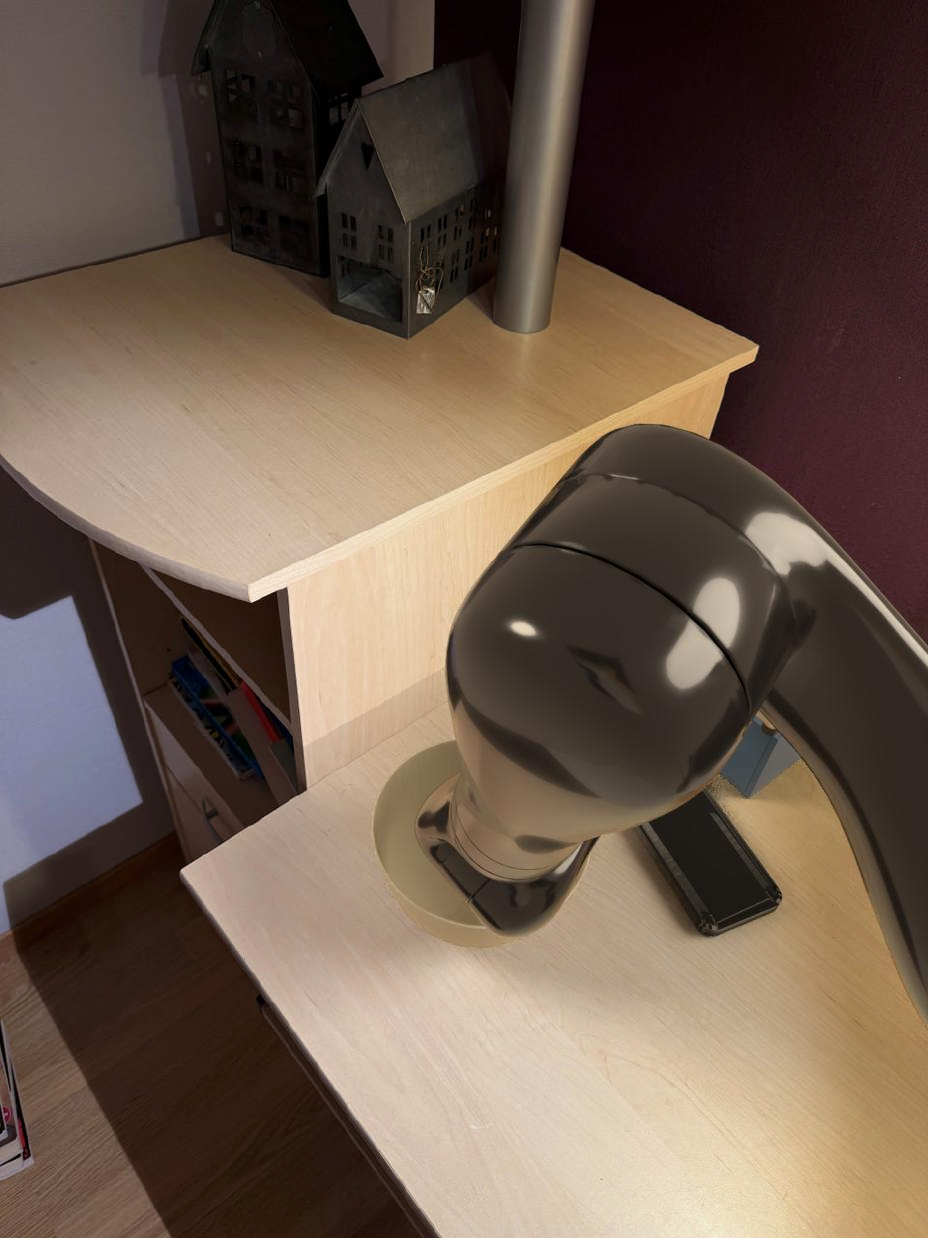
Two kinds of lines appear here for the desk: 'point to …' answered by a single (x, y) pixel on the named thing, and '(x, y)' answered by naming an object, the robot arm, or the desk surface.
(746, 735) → the blue open storage bin
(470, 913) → the bowl
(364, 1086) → the desk surface
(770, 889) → the phone
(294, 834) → the desk surface
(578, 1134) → the desk surface
